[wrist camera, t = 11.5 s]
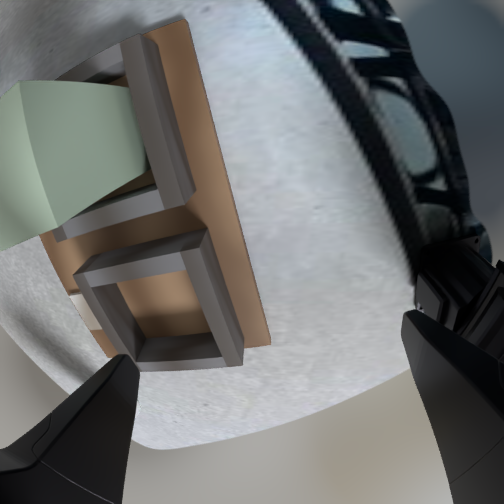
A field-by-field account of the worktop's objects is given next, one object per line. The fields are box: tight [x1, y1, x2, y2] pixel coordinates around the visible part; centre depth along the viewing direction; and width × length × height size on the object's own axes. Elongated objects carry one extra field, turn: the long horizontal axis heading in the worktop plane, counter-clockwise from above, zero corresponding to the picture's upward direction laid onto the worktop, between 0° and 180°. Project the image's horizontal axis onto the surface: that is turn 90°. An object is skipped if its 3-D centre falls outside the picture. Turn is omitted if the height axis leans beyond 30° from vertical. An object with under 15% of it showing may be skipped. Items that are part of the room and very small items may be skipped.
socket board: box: [39, 19, 271, 372], centre depth 18 cm, size 17×25×4 cm
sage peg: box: [0, 80, 151, 252], centre depth 11 cm, size 6×6×10 cm
